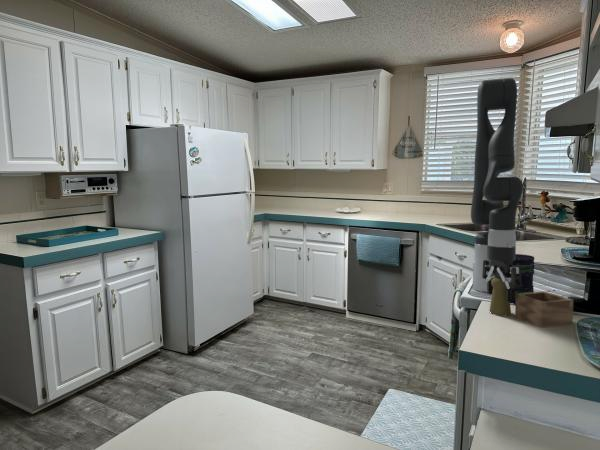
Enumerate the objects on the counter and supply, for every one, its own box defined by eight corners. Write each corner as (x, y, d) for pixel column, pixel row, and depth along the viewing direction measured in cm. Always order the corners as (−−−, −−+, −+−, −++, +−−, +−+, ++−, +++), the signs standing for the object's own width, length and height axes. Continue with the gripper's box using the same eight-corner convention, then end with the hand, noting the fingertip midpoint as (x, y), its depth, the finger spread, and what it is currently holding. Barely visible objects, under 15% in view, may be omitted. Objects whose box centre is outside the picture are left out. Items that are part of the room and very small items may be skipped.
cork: (507, 317, 122) (508, 280, 121) (486, 313, 126) (487, 277, 125) (513, 312, 126) (514, 276, 125) (492, 308, 130) (493, 274, 129)
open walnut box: (515, 317, 123) (515, 293, 122) (543, 314, 125) (544, 291, 124) (541, 328, 113) (542, 303, 112) (572, 324, 115) (573, 299, 115)
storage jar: (537, 305, 133) (538, 259, 131) (503, 304, 135) (504, 258, 134) (528, 297, 142) (530, 254, 141) (497, 296, 145) (498, 253, 144)
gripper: (475, 241, 130) (474, 292, 132) (507, 248, 117) (505, 304, 118) (496, 240, 132) (495, 291, 133) (530, 246, 118) (528, 302, 119)
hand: (500, 297), depth 126 cm, fingers open, 8 cm apart
